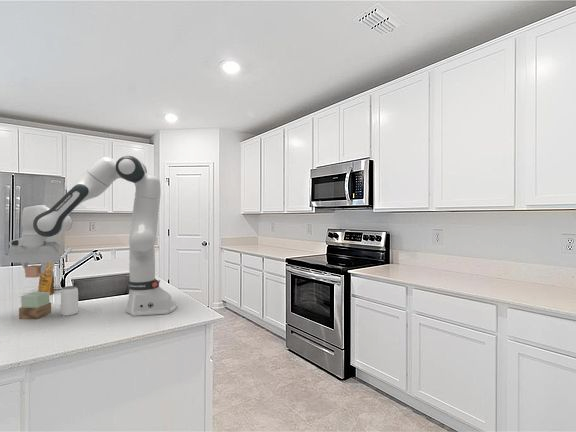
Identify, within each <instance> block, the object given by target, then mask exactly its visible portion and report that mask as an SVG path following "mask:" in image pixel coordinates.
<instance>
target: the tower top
mask: <svg viewBox="0 0 576 432" xmlns="http://www.w3.org/2000/svg"><path fill="white" fill-rule="evenodd" d="M20 298H21V299H20V300H21V301H20V302H21V303H20V305H21V306H20V307H21V308H38V307H41V306H43V305H46V304H48V303H51V302H50V295H49V292H39V291H32V292H30V293H29V292H28V293H26V294H23V295H21V296H20Z"/></svg>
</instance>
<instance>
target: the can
mask: <svg viewBox="0 0 576 432" xmlns="http://www.w3.org/2000/svg"><path fill="white" fill-rule="evenodd" d="M78 313H79V290H78V286H76V285H70V286H68V285H67V286H64V287H62V288H61V291H60V314H61V315H62V316H63V317H69V316H70V317H71V316H74V315H77V314H78Z"/></svg>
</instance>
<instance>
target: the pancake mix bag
mask: <svg viewBox="0 0 576 432" xmlns="http://www.w3.org/2000/svg"><path fill="white" fill-rule="evenodd" d="M55 265H56V263H48V265H47V266H46V268H45V272H44V273H43V276H40V277H39V279H38V280H39V281H38V287H37V288H38V292H49V296H51V295H53V294H55V273H54V272H55V271H54V269H55Z"/></svg>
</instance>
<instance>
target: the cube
mask: <svg viewBox="0 0 576 432" xmlns="http://www.w3.org/2000/svg"><path fill="white" fill-rule="evenodd" d="M41 267H42V265H41V264H37V265H36V264H32V265H28V267H25V269H24V273H25V278H40V276H43V273H39V269H41Z"/></svg>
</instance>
